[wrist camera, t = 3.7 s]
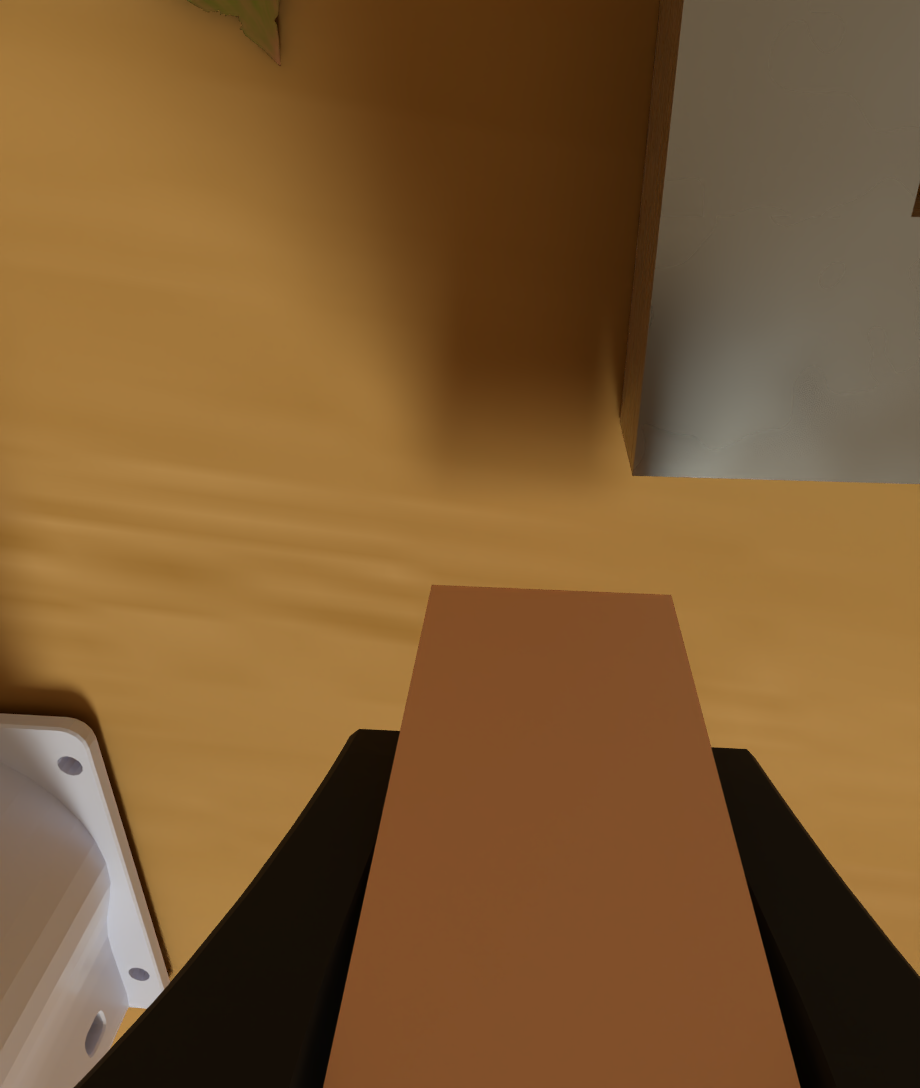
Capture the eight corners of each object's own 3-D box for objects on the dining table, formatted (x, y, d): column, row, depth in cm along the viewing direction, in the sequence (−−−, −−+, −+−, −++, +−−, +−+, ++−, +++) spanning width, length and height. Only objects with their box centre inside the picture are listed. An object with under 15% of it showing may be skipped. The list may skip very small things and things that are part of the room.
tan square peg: (644, 771, 12) (764, 1531, 5) (435, 759, 12) (325, 1477, 6) (670, 594, 10) (874, 1364, 4) (431, 585, 10) (277, 1298, 4)
